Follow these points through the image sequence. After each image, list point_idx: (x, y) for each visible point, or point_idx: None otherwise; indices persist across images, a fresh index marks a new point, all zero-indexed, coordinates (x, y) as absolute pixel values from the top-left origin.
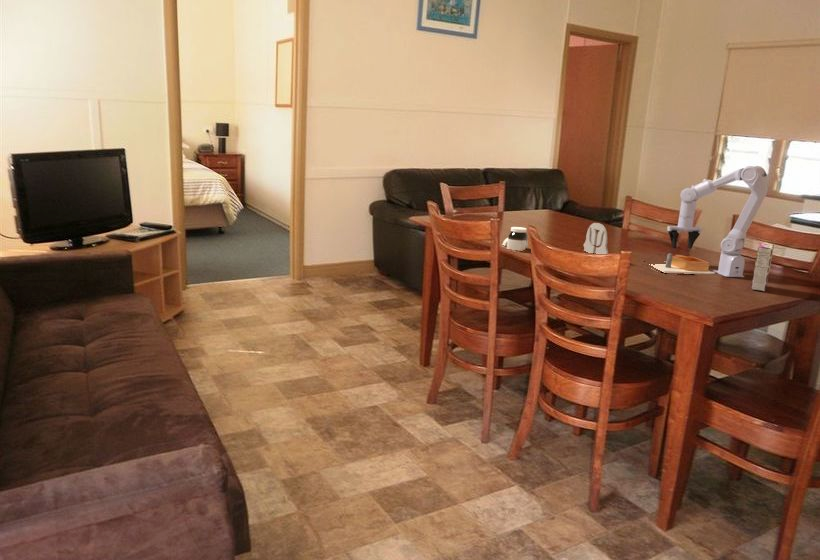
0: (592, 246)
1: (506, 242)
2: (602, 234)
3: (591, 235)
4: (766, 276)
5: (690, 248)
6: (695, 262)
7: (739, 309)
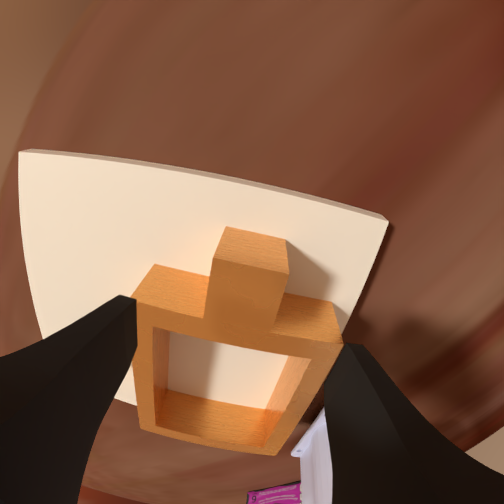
0: None
1: None
2: None
3: None
4: None
5: (329, 387)
6: (194, 441)
7: (122, 496)
